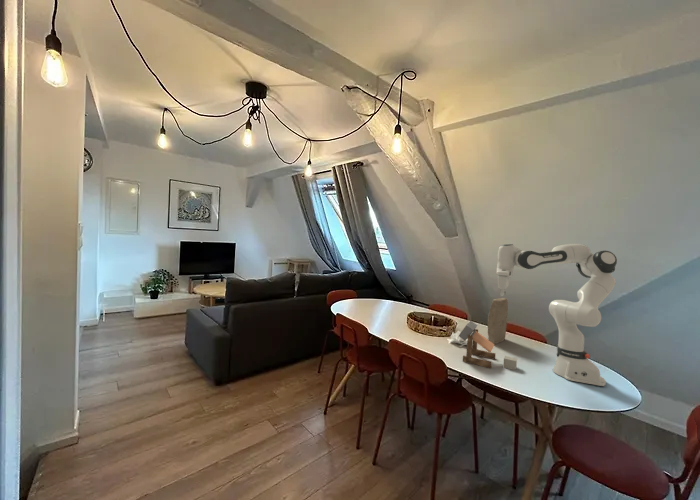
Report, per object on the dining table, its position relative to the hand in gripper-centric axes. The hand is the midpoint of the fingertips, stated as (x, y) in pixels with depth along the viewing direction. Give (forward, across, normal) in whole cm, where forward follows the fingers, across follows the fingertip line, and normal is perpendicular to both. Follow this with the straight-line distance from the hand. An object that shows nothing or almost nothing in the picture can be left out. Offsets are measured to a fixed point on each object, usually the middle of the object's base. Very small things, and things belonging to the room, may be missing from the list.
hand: (503, 295), depth 181 cm
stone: (+35, +12, +10) cm, 38 cm away
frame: (+37, +12, -13) cm, 41 cm away
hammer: (+23, +12, -13) cm, 29 cm away
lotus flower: (+38, -9, -25) cm, 46 cm away
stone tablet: (+37, -32, -6) cm, 50 cm away
